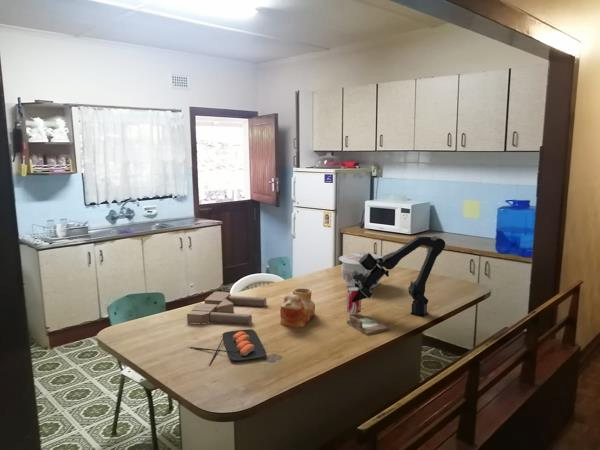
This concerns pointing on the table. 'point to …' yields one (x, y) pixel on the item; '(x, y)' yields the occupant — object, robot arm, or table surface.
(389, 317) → the table surface
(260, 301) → the brown forked block
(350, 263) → the chamber pot
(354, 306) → the soda can
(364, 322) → the wooden picture frame
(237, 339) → the sushi plate
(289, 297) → the ceramic vessel
